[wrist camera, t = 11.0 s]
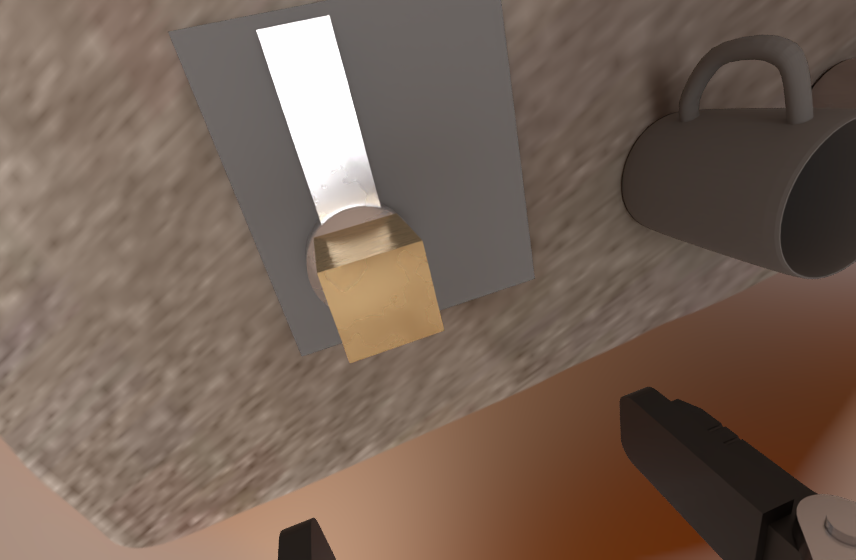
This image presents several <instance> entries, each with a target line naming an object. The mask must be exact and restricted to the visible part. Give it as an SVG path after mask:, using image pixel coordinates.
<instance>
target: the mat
mask: <svg viewBox="0 0 856 560" xmlns="http://www.w3.org/2000/svg"><path fill="white" fill-rule="evenodd" d="M328 15H329V16H330V20H331V24H332V28H333V31H334V35H335V39H336V42H337V46H338V50H339V54H340V57H341V61H342V65H343V68H344V72H345V76H346V80H347V83H348V87H349V91H350V95H351V98H352V102H353V106H354V109H355V113H356V117H357V121H358V124H359V128H360V132H361V135H362V139H363V143H364V147H365V150H366V154H367V158H368V161H369V165H370V169H371V173H372V176H373V180H374V184H375V187H376V191H377V195H378V199H379V202H380V203H382V204H384V205H386V206H388V207H389V208H391V209H393V210H394V211H395V212H396V213H397V214H398V215H399V216H400V217H401V218H402V219H403V220H404V221H405V222H406V223H407V224H408V225H409V226H410V227H411V228H412V230H413V231H414V232H415V233H416V234H417V235H418V236H419V237H420V238H421V240H422V241H423V245H424V249H425V253H426V257H427V261H428V265H429V269H430V274H431V278H432V282H433V286H434V290H435V294H436V299H437V303H438V307H439V311H440V310H443V309H446V308H449V307H452V306H455V305H458V304H461V303H464V302H467V301H470V300H473V299H476V298H479V297H482V296H485V295H488V294H491V293H494V292H497V291H500V290H503V289H506V288H509V287H512V286H515V285H518V284H521V283H524V282H527V281H530V280H533V279H535V276H534V268H533V260H532V251H531V243H530V235H529V227H528V219H527V210H526V202H525V194H524V186H523V177H522V169H521V161H520V153H519V144H518V136H517V128H516V120H515V111H514V103H513V95H512V87H511V79H510V70H509V62H508V54H507V46H506V37H505V29H504V21H503V13H502V4H501V0H327V1H321V2H316V3H311V4H306V5H301V6H296V7H291V8H286V9H281V10H276V11H271V12H266V13H261V14H255V15H250V16H245V17H240V18H235V19H230V20H225V21H220V22H215V23H210V24H205V25H200V26H194V27H189V28H184V29H179V30H174V31H169V32H168V33H169V35H170V38H171V40H172V42H173V45H174V47H175V50H176V52H177V55H178V57H179V59H180V62H181V64H182V67H183V69H184V72H185V74H186V76H187V79H188V81H189V84H190V86H191V89H192V91H193V93H194V96H195V98H196V101H197V103H198V106H199V108H200V110H201V113H202V115H203V118H204V120H205V123H206V125H207V127H208V130H209V132H210V135H211V137H212V140H213V142H214V144H215V147H216V149H217V152H218V154H219V157H220V159H221V161H222V164H223V166H224V169H225V171H226V174H227V176H228V178H229V181H230V183H231V186H232V188H233V191H234V193H235V195H236V198H237V200H238V203H239V205H240V208H241V210H242V212H243V215H244V217H245V220H246V222H247V225H248V227H249V229H250V232H251V234H252V237H253V239H254V242H255V244H256V246H257V249H258V251H259V254H260V256H261V259H262V261H263V263H264V266H265V268H266V271H267V273H268V276H269V278H270V280H271V283H272V285H273V288H274V290H275V293H276V295H277V297H278V300H279V302H280V305H281V307H282V310H283V312H284V314H285V317H286V319H287V322H288V324H289V326H290V329H291V331H292V334H293V336H294V339H295V341H296V343H297V346H298V348H299V351H300V353H301V356H305V355H308V354H311V353H314V352H317V351H320V350H323V349H326V348H329V347H332V346H335V345H338V344H341V343H342V340H341V338H340V335H339V332H338V329H337V327H336V324H335V321H334V319H333V316H332V313H331V310H330V308H329V306H327V305H326V304H325V303H324V302H323V301H321V299H320V298H319V297H318V296H317V295H316V293H315V291H314V290H313V288H312V286H311V284H310V281H309V278H308V273H307V262H306V247H307V241H308V237H309V234H310V232H311V230H312V228H313V226H314V224H315V223H316V221H317V220H318V219H319V215H318V212H317V209H316V206H315V203H314V200H313V198H312V195H311V192H310V189H309V186H308V183H307V180H306V177H305V174H304V171H303V168H302V165H301V162H300V159H299V156H298V153H297V150H296V147H295V144H294V141H293V138H292V135H291V132H290V129H289V126H288V123H287V120H286V117H285V114H284V111H283V108H282V105H281V102H280V99H279V96H278V93H277V90H276V87H275V84H274V81H273V78H272V75H271V72H270V69H269V66H268V63H267V60H266V57H265V54H264V51H263V48H262V45H261V42H260V39H259V36H258V33H257V30H259V29H264V28H269V27H274V26H279V25H284V24H289V23H294V22H299V21H304V20H309V19H314V18H319V17H323V16H328Z"/></svg>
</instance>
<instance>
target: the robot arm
mask: <svg viewBox="0 0 856 560" xmlns="http://www.w3.org/2000/svg"><path fill="white" fill-rule="evenodd" d="M812 102H813V108H847V109H856V58H853V59H849V60H845V61H843V62H841V63H839V64H837V65H836V66H834V67H833V68H832V69H830V70H829V71H828V72H827V73H825V74H824V75H823V77H822V78H821V79H820V80H819V81H818V82H817V83H816V84H815V86H814V87H813V89H812ZM620 424H621V425H620V426H621V442H622V445H623V448H624V450H625V452H626V454H627V456H628V458H629V459H630V461H631V462H632V463H633V464H634V465H635V466H636V468H637V469H638V470H639V471H640V472H641V473H642V474H643V475H644V476H645V477H646V478H647V479H648V480H649V481H650V482H651V483H652V484H653V486H654V487H655V488H656V489H657V490H658V491H659V492H660V493H661V494H662V495H663V496H664V497H665V498H666V499H667V501H668V502H670V504H671V505H672V506H673V507H674V508H675V509H676V510H677V511H678V512H679V513H680V514H681V515H682V517H683V518H684V519H685V520H686V521H687V522H688V523H689V524H690V525H691V526H692V527H693V528H694V529H695V530H696V531H697V533H698V534H699V535H700V536H701V537H702V538H703V539H704V540H705V541H706V542H707V543H708V544H709V545H710V546H711V547H712V548H713V550H714V551H715V552H716V553H717V554H718V555H719V556H720V557H721V558H722V559H723V560H856V502H854V501H851V500H848V499H845V498H842V497H838V496H833V495H825V494H817V493H815V492H813V491H812V490H810V489H809V488H807V487H806V486H805V485H803V484H802V483H800V482H799V481H798V480H797V479H795V478H794V477H793V476H791V475H790V474H789V473H787V472H786V471H785V470H783V469H782V468H781V467H779V466H778V465H776V464H775V463H774V462H772V461H771V460H770V459H768V458H767V457H766V456H764V455H763V454H762V453H760V452H759V451H758V450H756V449H755V448H753V447H752V446H751V445H750V444H748V443H747V442H746V441H744V440H743V439H742V440H740V439H739V438H738V436H737V435H736V434H735V433H733V432H732V431H730V430H729V429H728V428H727V427H723V426H722V424H721V423H720V422H719V421H717V420H716V419H715V418H713V417H712V416H711V415H709V414H708V413H706V412H705V411H704V410H703V409H701V408H698V407H696V406H693V405H691V404H689V403H686V402H684V401H681V400H679V399H676V400H674V401H670V400H668V399H667V398H666V397H665V396H663V395H662V394H660V393H659V392H658V391H657V390H655V389H654V388H652V387H646V388H643V389H640V390H638V391H636V392H633V393H630V394H628V395H625V396H623V397H621V399H620ZM278 560H336V559H335V556H334V554H333V552H332V550H331V548H330V546H329V544H328V542H327V540H326V538H325V536H324V534H323V532H322V530H321V528H320V526H319V524H318V522H317V520H316V519H315V518H312V519H309V520H307V521H304V522H301V523H299V524H296V525H294V526H291V527H289V528H286V529H284V530H282V531H281V533H280V536H279V549H278Z"/></svg>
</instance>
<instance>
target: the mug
mask: <svg viewBox="0 0 856 560" xmlns="http://www.w3.org/2000/svg"><path fill="white" fill-rule="evenodd" d="M754 59H755V60H763V61H766V62H769V63H771V64H773V65H775V66H776V67H777V68H778V69H779V71H780V74H781V76H782V81H783V86H784V95H785V104H786V108H745V109H705V110H699V101H700V98H701V95H702V93H703V91H704V89H705V87H706V85H707V83H708V82H709V81H710V79H711V78H712V76H713V75H714V74H715V72H716V71H717V70H718V69H719V68H720V67H721V66H722V65H724V64H727V63H729V62H734V61H739V60H754ZM622 192H623V198H624V202H625V205H626V207H627V209H628V211H629V213H630V214H631V215H632V216H633V218H634V219H635V220H636V221H637V222H639V223H640V224H642V225H644V226H646V227H648V228H650V229H652V230H655V231H657V232H660V233H662V234H665V235H668V236H671V237H673V238H676V239H679V240H682V241H685V242H688V243H691V244H694V245H696V246H699V247H702V248H705V249H708V250H711V251H714V252H717V253H720V254H723V255H726V256H729V257H732V258H735V259H738V260H741V261H745V262H748V263H751V264H754V265H757V266H760V267H764V268H767V269H770V270H773V271H777V272H780V273H784V274H787V275H791V276H796V277H800V278H806V279H819V278H825V277H828V276H831V275H834V274H836V273H838V272H840V271H842V270H844V269H845V268H847V267H849V266H850V265H851V264H853V263H854V262H856V109H847V108H813V102H812V90H811V80H810V73H809V68H808V63H807V60H806V57H805V55H804V52H803V50H802V49H801V48H800V47H799V46H798V45H797V43H795V42H793V41H791V40H789V39H787V38H783V37H780V36H774V35H756V36H748V37H742V38H738V39H734V40H730V41H727V42H724V43H722V44H720V45H718V46H716V47H714V48H712V49H711V50H710V51H709V52H708V53H707V54H706V55H705V56H704V57H703V58H702V59H701V60H700V61H699V63H698V64H697V66H696V67H695V68H694V70H693V72H692V74H691V75H690V77H689V79H688V81H687V83H686V85H685V87H684V90H683V92H682V95H681V99H680V102H679V112H676V113H673V114H670V115H667V116H665V117H663V118H661V119H660V120H658V121H656V122H655V123H653V124H652V125H651V126H650V127H649V128H648V129H647V130H646V131H645V132H644V133H643V134H642V135H641V136H640V137H639V139H638V140H637V142H636V143H635V145H634V146H633V148H632V150H631V152H630V154H629V156H628V159H627V161H626V164H625V168H624V172H623V179H622Z"/></svg>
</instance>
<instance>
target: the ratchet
mask: <svg viewBox="0 0 856 560" xmlns="http://www.w3.org/2000/svg"><path fill="white" fill-rule="evenodd" d="M257 33H258V36H259V39H260V42H261V45H262V48H263V51H264V54H265V57H266V60H267V63H268V66H269V69H270V72H271V75H272V78H273V81H274V84H275V87H276V90H277V93H278V96H279V99H280V102H281V105H282V108H283V111H284V114H285V117H286V120H287V123H288V126H289V129H290V132H291V135H292V138H293V141H294V144H295V147H296V150H297V153H298V156H299V159H300V162H301V165H302V168H303V171H304V174H305V177H306V180H307V183H308V186H309V189H310V192H311V195H312V198H313V200H314V203H315V206H316V209H317V212H318V215H319V219H318V220H317V221H316V223H315V224H314V226H313V228H312V230H311V232H310V234H309V237H308V241H307V247H306V262H307V273H308V278H309V281H310V284H311V286H312V288H313V290H314V291H315V293H316V295H317V296H318V297H319V298H320V299H321V301H323V302H324V303H325V304H326V305H327V306H329V305H328V302H327V299H326V297H325V294H324V291H323V288H322V286H321V283H320V280H319V277H318V275H317V269H316V259H315V249H314V237H318V236H321V235H324V234H328V233H331V232H335V231H338V230H341V229H345V228H348V227H351V226H355V225H358V224H362V223H365V222H368V221H372V220H375V219H379V218H382V217H385V216H389V215H392V214H396V212H395V211H394V210H393V209H391V208H389V207H388V206H386V205H384V204H382V203H380V202H379V199H378V195H377V191H376V187H375V184H374V180H373V176H372V173H371V169H370V165H369V161H368V158H367V154H366V150H365V147H364V143H363V139H362V135H361V132H360V128H359V124H358V121H357V117H356V113H355V109H354V106H353V102H352V98H351V95H350V91H349V87H348V83H347V80H346V76H345V72H344V68H343V65H342V61H341V57H340V54H339V50H338V46H337V42H336V39H335V35H334V31H333V28H332V24H331V20H330V16H329V15H328V16H323V17H319V18H314V19H309V20H304V21H299V22H294V23H289V24H284V25H279V26H274V27H269V28H264V29H259V30H257ZM401 219H402V218H401ZM402 220H403V219H402ZM403 221H404V220H403ZM404 222H405V221H404ZM405 223H406V222H405ZM406 224H407V223H406ZM407 225H408V224H407ZM408 226H409V225H408ZM409 227H410V226H409ZM410 228H411V227H410ZM411 229H412V228H411Z"/></svg>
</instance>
